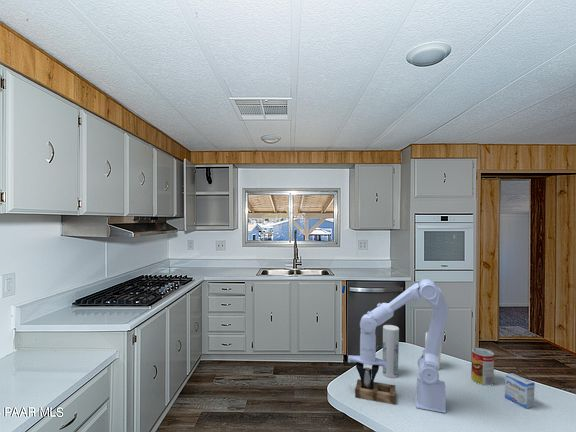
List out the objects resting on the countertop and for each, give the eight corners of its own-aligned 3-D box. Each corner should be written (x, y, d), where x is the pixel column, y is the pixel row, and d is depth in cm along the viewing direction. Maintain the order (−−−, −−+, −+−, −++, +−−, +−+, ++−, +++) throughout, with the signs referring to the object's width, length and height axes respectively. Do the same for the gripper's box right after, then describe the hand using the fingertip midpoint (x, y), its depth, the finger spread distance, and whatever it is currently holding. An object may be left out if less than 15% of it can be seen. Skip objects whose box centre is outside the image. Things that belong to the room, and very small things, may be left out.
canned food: (481, 375, 141) (481, 347, 141) (498, 384, 133) (498, 354, 133) (466, 377, 138) (467, 349, 138) (483, 387, 131) (483, 356, 131)
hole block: (395, 393, 125) (395, 385, 125) (395, 404, 118) (395, 396, 118) (357, 386, 130) (357, 379, 130) (355, 397, 122) (355, 389, 122)
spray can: (383, 369, 145) (383, 324, 145) (398, 372, 142) (399, 326, 142) (381, 376, 139) (382, 328, 139) (397, 379, 136) (398, 330, 136)
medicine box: (504, 397, 123) (504, 374, 123) (512, 395, 125) (512, 372, 125) (526, 409, 116) (527, 384, 116) (534, 406, 118) (535, 382, 118)
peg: (370, 391, 126) (371, 367, 125) (371, 395, 123) (371, 371, 123) (362, 390, 126) (363, 367, 126) (363, 394, 123) (363, 370, 123)
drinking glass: (427, 363, 152) (427, 330, 152) (443, 367, 148) (443, 333, 148) (422, 368, 147) (423, 334, 147) (439, 373, 142) (439, 338, 142)
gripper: (388, 346, 126) (387, 381, 126) (349, 341, 131) (349, 375, 131) (387, 353, 120) (387, 390, 120) (347, 347, 124) (346, 384, 124)
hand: (367, 383), depth 125 cm, fingers closed on peg, 3 cm apart
